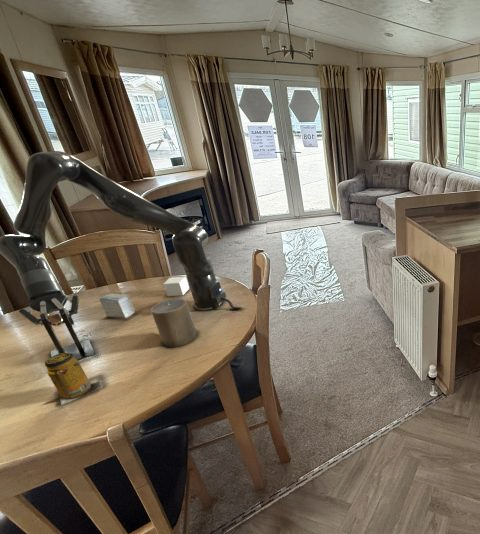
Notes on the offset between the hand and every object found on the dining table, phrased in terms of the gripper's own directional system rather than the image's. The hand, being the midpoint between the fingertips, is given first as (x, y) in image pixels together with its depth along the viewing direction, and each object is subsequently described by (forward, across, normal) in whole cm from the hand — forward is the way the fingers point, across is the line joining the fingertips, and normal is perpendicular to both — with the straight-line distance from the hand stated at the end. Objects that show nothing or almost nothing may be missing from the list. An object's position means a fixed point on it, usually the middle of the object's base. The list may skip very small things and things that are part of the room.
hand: (61, 328), depth 111 cm
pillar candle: (+21, +25, -10) cm, 34 cm away
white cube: (-7, +36, +16) cm, 40 cm away
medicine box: (-3, +15, +12) cm, 20 cm away
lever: (0, 0, -5) cm, 5 cm away
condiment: (+26, -1, -15) cm, 31 cm away
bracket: (+10, 0, 0) cm, 10 cm away
